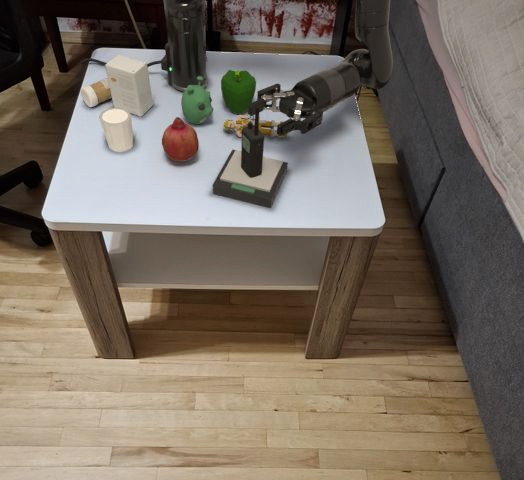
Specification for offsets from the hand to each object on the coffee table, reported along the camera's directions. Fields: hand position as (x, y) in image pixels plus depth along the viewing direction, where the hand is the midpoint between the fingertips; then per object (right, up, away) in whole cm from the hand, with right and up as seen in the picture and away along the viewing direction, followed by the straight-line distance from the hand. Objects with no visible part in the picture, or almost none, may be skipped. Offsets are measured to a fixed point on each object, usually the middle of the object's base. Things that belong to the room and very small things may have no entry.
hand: (263, 120), depth 100 cm
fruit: (-18, -3, +13) cm, 23 cm away
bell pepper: (-7, +15, +26) cm, 30 cm away
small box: (-32, +14, +23) cm, 42 cm away
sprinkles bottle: (-33, +22, +26) cm, 48 cm away
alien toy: (-16, +9, +21) cm, 28 cm away
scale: (-3, -9, +10) cm, 14 cm away
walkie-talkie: (-3, -7, +8) cm, 11 cm away
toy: (-2, +6, +20) cm, 21 cm away
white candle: (-33, +1, +15) cm, 36 cm away
